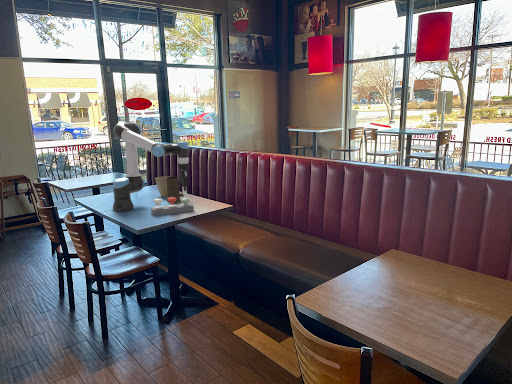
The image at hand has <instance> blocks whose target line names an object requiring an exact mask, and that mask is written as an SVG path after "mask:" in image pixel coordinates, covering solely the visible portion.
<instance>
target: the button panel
mask: <svg viewBox="0 0 512 384" xmlns="http://www.w3.org/2000/svg"><path fill="white" fill-rule="evenodd" d="M194 207H195V206H194V204H192V203H191V202H188V204H183V203H178V204H169V205H158V206H151V207H150V211H151V212H150V213H151V214H152V215H153V216H154V217H155V216H156V215H157V216H163V215H164V214H165V215H172V214H173V215H174V214H180V213H188V212H194V211H195V210H194V209H195V208H194Z"/></svg>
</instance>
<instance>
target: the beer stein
mask: <svg viewBox="0 0 512 384" xmlns="http://www.w3.org/2000/svg"><path fill="white" fill-rule="evenodd" d="M166 177H167V178H166V181H167V196H166V202H168V198H170V197H175V198H176V201H174V203H177V202H181V197H182V198H185V195H183V189H181V193H180V185H179V184H180V183H181V179H179V177H178V176H166Z"/></svg>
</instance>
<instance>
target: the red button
mask: <svg viewBox="0 0 512 384" xmlns="http://www.w3.org/2000/svg"><path fill="white" fill-rule="evenodd" d="M174 201H176V198H175V197H170V198H168V201H167V203H168V202H169V205H175V202H174Z"/></svg>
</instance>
